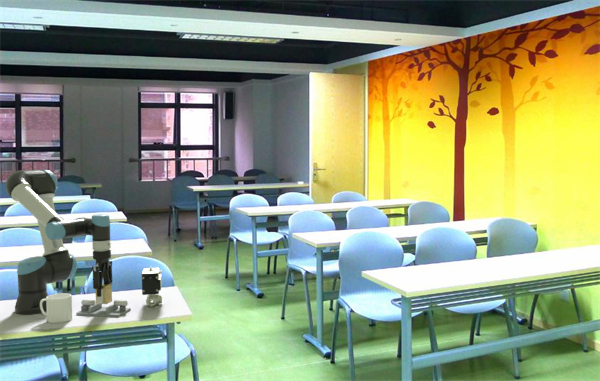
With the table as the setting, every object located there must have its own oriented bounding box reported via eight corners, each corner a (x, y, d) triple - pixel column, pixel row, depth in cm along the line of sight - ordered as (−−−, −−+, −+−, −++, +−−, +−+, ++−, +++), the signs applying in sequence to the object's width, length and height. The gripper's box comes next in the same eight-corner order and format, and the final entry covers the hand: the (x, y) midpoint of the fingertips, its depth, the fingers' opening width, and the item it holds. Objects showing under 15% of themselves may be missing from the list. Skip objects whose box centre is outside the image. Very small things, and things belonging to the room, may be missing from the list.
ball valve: (161, 309, 266) (160, 270, 265) (142, 310, 264) (141, 271, 263) (163, 299, 284) (162, 262, 282) (145, 300, 282) (144, 263, 281)
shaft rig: (76, 315, 258) (75, 302, 257) (89, 308, 269) (89, 296, 268) (118, 317, 254) (118, 304, 254) (130, 310, 265) (130, 298, 264)
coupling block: (96, 303, 259) (95, 285, 258) (101, 300, 264) (101, 283, 263) (106, 304, 258) (105, 286, 257) (112, 301, 263) (111, 283, 262)
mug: (70, 315, 258) (69, 292, 257) (74, 321, 249) (73, 297, 248) (39, 319, 252) (38, 295, 251) (41, 325, 243) (40, 301, 242)
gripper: (99, 253, 250) (100, 307, 251) (119, 246, 267) (121, 297, 269) (82, 253, 251) (84, 306, 253) (104, 246, 269) (106, 296, 270)
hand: (103, 301), depth 261 cm, fingers closed on coupling block, 5 cm apart
